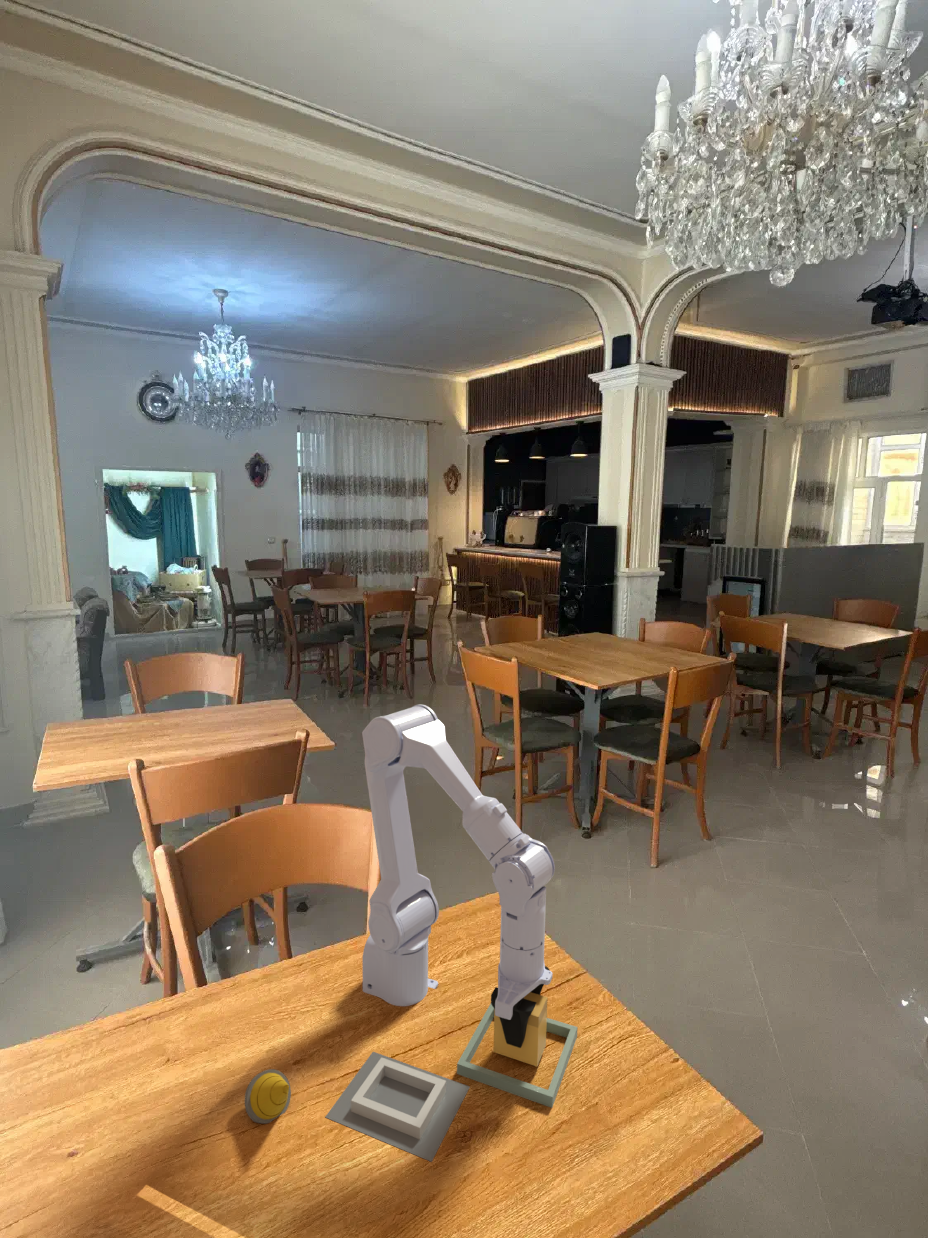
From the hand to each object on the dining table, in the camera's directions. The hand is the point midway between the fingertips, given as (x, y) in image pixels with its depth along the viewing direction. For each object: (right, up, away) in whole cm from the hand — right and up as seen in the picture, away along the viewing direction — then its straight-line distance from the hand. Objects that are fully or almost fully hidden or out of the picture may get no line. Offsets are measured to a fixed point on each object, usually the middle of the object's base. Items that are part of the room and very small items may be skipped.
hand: (519, 1032), depth 89 cm
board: (-15, -5, -7) cm, 18 cm away
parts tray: (0, -4, +1) cm, 4 cm away
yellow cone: (-30, -5, -8) cm, 32 cm away
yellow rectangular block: (0, -2, 0) cm, 2 cm away
